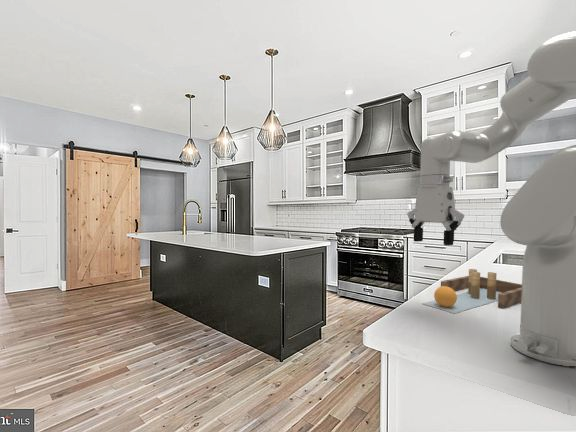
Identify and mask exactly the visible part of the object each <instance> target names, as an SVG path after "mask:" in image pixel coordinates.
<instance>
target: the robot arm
mask: <svg viewBox="0 0 576 432" xmlns="http://www.w3.org/2000/svg"><path fill="white" fill-rule="evenodd" d="M526 71H527V74H528V77H527V78H524V80H522V81H520V82H519V83H518V84H517V85H515V86H514V87H512V88H511V89H509V90H508V91H507V92H505V93H504V94H503V95H502V96H501V98H500V108H501V111H502V114H501V116H500V117H499V118H498V119H497V120H496V121H495V122H494V123H493V124H491V125H490V126H488V127H487V128H486V129H484V130H482V131H481V132H479V133H474V132H468V131H461V130H451V131H448V132H446V133H443V134H441V135H439V136H434V137H428V138H425V139H424V140H422V142H421V145H420V168H419V169H420V170H419V174H420V175H419V187H418V189H417V193H416V196H415V205H414V208H413V209H412V210H410V211H408V212H407V213H406V214H407V217H408V221H409V223H410V224H411V227H412V228H413V242H422V241H424V240H423V238H424V227H423V225H424V224H425V223H433V224H435V223H436V224H442V226H443V227H444V229H445V230H444V231H443V245H444V246H453V245H454V241H455V231H457V229H458V227H459V226H460V225H461V224H462V221H463V219H464V218H465V214H464V213H462V212H460V211H458V210H457V209H456V202H455V194H454V189H453V186H450V184H451V183H453V182H454V178H453V177H452V176H450V174H451V173H450V172H451V171H450V170H451V162H460V163H461V162H463V163H470V164H476V163H481V162H483V161H486V160H488V159H491V158H492V157H494V156H496V155H497V154H500V153H501V152H502V151H503V150H506V149H507V148H509V147H510V146H511V145H512V144H513V143H514V142H516V140H517V139H518V138H520V136H521V135H522V134H523V133H524V131H525V130H526V128H527V127H528V126H529V125H531V124H532V123H534V122H535V121H537V120H539V119H540V118H542V117H543V116H545V115H547V114H548V113H550V112H551V111H553V110H555V109H556V108H558V107H560V106H562V105H563V104H565V103H567V102H568V101H569V100H572V99H574V97H576V30H574V31H569V32H568V31H567V32H565V33H563V34H558V35H556V36H553V37H551V38H550V39H548V40H546V41H544V42H543V43H541V44H540V45H539V46H538V47H537V48H536V49H535V51H534V52H533V53H532V54H531V55H530V58H529V59H528V63H527V69H526ZM500 228H501V230H502V232H503V234H504V235H505V237H506V238H508V239H509V240H510V241H512V242H514V243H516V244H519V245H522V246H526V247H525V250H524V253H523V258H522V259H523V260H522V271H521V272H522V273H521V284H522V295H521V303H520V323H519V324H520V327H519V328H520V329H519V334H515V335H513V336H511V337H510V346H511V347H512V348H513V349H514V350H516V351H517V352H519V353H521V354H523V355H525V356H527V357H530V358H532V359H535V360H537V361H541V362H544V363H548V364H552V365H556V366H561V365H562V366H563V367H569V366H576V144H574V145H573V144H572V145H570V146H567V147H564V148H561V149H560V150H558V151H556V152H555V153H553V154H551V155H550V156H549V157H548V158H547V159H546V160H544V162H542V163H541V164H540V165H539V166H538V168H536V170H535V171H534V172H533V174H532V175H531V176H530V177H529V178H528V179H527V180H525V182H524V184H523V185H522V186H521V187H520V188H519V189H518V190H517V192H516V193H515V194H514V195H513V196H512V197H511V198H510V199H509V201H508V202H507V203H506V205H505V206H504V208H503V209H502V212H501V216H500ZM562 366H561V367H562Z"/></svg>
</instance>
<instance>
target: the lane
mask: <svg viewBox="0 0 576 432" xmlns="http://www.w3.org/2000/svg"><path fill="white" fill-rule="evenodd" d="M500 293H502V292H497V291H496V299H494V300H493V299H488V298H487V289H481V288H480V297H479V299H474V298H471V294H468V291H467V292H463V293H459V294H456V295H457V300H456V303H455V304H454V305H453V306H451V307H443V306H440V305H439V304H438V303H437V302H436V301H435V299H434V300H431V301H426V302H423V303H421V304H422V305H424V304H425V305H424V306H427V305H428V306H427V307H430V306H431V307H430V308H433V309H437V310H440V309H441V310H440V311H444V312H447V313H450V314H459V313H461V312H465V311H468V310H471V309H474V308H478V307H481V306H485V305H488V304H492V303H495V302H498V294H500Z"/></svg>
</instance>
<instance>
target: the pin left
mask: <svg viewBox="0 0 576 432" xmlns="http://www.w3.org/2000/svg"><path fill="white" fill-rule="evenodd" d="M472 272H478V270H477V269H474V268H469V269H468V276H469V281H468V288H467V292H468V294H471V278H472Z"/></svg>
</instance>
